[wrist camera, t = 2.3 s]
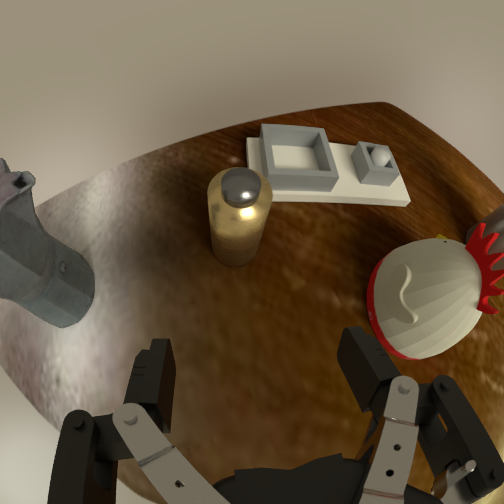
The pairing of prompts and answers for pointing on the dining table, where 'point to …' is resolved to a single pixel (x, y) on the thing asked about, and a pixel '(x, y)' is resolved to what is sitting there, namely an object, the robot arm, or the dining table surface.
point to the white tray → (324, 168)
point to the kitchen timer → (432, 293)
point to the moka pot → (38, 258)
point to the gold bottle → (238, 214)
